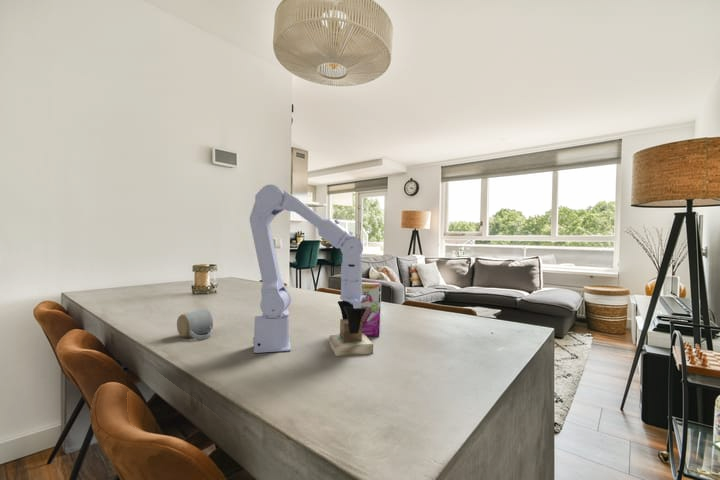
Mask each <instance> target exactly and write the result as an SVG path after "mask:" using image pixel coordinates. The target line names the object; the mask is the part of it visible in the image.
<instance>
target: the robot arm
mask: <svg viewBox="0 0 720 480" xmlns="http://www.w3.org/2000/svg"><path fill="white" fill-rule="evenodd" d="M254 200H255V201H254V204H253V207H252V210H251V212H250V216H249V224H250V229H251V233H252V238H253V244H254V248H255V254H256V258H257V263H258V268H259V274H260V277H261V281H262V284H261V289H260V294H261V300H260V303H259V305H260V310H261V312H262V314H261V315H256V316H255V317H254V326H253V328H254V330H253V331H254V332H253V333H254V334H253V336H252V337H253V339H252V344H253V353H255V354H258V353H274V352H275V353H276V352H290V351H291V350H292V346H291V340H290V311H289V310H288V308H289V306H290V304H291V299H292V298H291V294H290V293H289V292H288V290H287V289H286V286H285V283H284V281H283V279H282V277H281V272H280V267H279V262H278V257H277V252H276V249H275V248H276V247H275V243H274V239H273V234H272V233H273V231H272V228H271V223H272V221H273V220H274V219H275V217H276V216H277V215H279V214H280V213H281V212H283V211H287V212H293V213H296V214H297V215H299V216H300V217H302V218H303V219H304V220H306V221H307V222H308V223H310V224H311V225H313V226H314V227H315V228H317V231H318V236H319V237H321V238H322V239H323V240H325V241H326V242H327V243H329V245H332V246H333V247H334V248H335V249H340V252H341V253H342V258H341V259H342V263H341V264H340V265H341V267H340V268H341V271H340V276H341V277H340V278H341V279H340V296H339V299H340V300H339V301H337V304H338V307H339V309H340V313H341V316H342V317H341V319H348V325H349V331H350V334H356V333H358V331H359V327H360V323H361V319H362V317H363V314H364V313H365V311H366V308H365V307H361V301H362V299H366V296H364V295H362V282H363V263H362V261H363V260H362V259H363V257H362V253H363V252H364V251H363V250H364V247H363V243H362V240H360V239H359V238H358V237H357V236H354V235H353V234H354V233H353V232H352V231H350V230H349V231H348V230H347V229H346V228H345V227H343V226H342V225H340V221H339V220H337V219H333V218H326V219H324V218H323V217H322V216H321V215H319V213H317V212H315V210H313V209H312V208H311V207H309V205H307V204H306V203H304V201H302V200H301V199H299V198H298V197H296V196H294V195H293V194H291V193H289V192H287V191H286V190H284V189H283V190H282V189H281V188H280V187H279V186H277V185H275V184H266V185H264V186H262V187H261V189H260V190H259V191H258V192H257V193H256V194H255V197H254Z"/></svg>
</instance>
